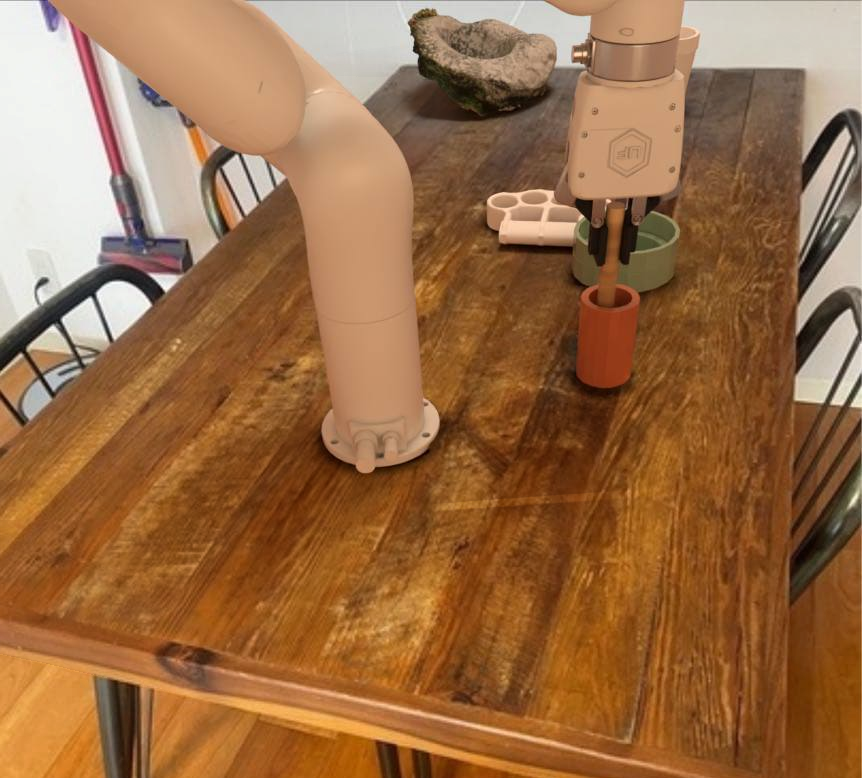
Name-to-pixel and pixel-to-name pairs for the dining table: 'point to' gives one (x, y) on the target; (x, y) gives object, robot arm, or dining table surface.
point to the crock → (607, 337)
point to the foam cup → (687, 51)
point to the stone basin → (482, 60)
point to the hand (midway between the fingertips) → (610, 258)
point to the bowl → (633, 254)
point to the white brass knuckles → (532, 218)
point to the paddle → (611, 255)
